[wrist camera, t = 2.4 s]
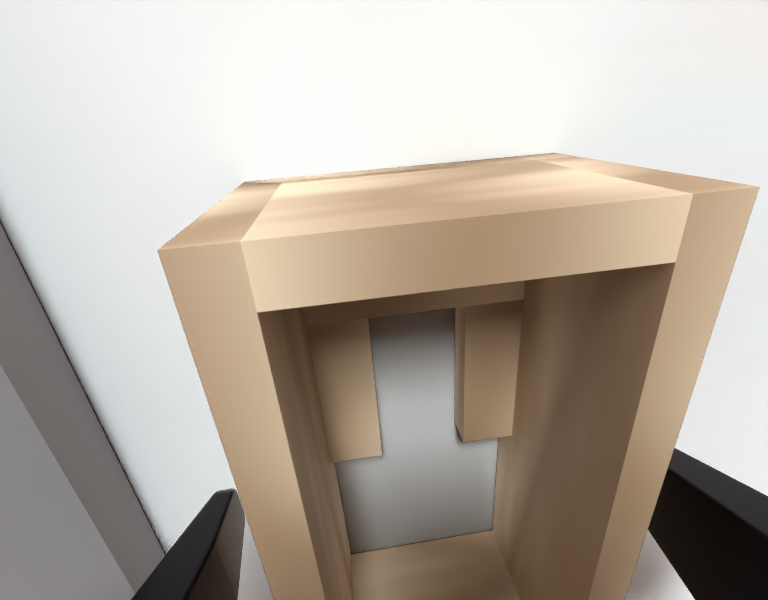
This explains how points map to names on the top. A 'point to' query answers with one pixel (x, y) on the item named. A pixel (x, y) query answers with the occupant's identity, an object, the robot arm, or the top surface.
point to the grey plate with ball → (58, 470)
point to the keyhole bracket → (460, 356)
